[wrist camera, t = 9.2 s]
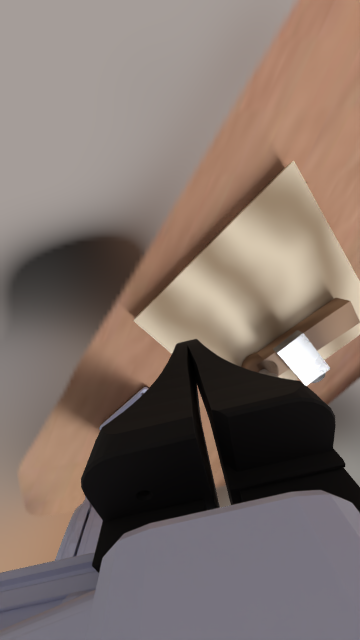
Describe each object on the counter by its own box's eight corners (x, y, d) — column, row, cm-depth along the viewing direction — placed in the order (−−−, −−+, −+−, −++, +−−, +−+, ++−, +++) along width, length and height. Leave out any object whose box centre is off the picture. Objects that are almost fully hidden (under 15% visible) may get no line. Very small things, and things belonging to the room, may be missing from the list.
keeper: (289, 371, 22) (308, 388, 19) (261, 339, 20) (277, 353, 17) (310, 356, 21) (332, 372, 18) (283, 321, 20) (303, 333, 17)
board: (241, 409, 25) (244, 416, 24) (135, 317, 19) (133, 320, 18) (369, 316, 21) (380, 319, 20) (284, 167, 16) (293, 160, 15)
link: (251, 382, 22) (265, 403, 19) (235, 364, 21) (247, 383, 18) (346, 319, 20) (380, 330, 17) (334, 295, 19) (368, 302, 15)
